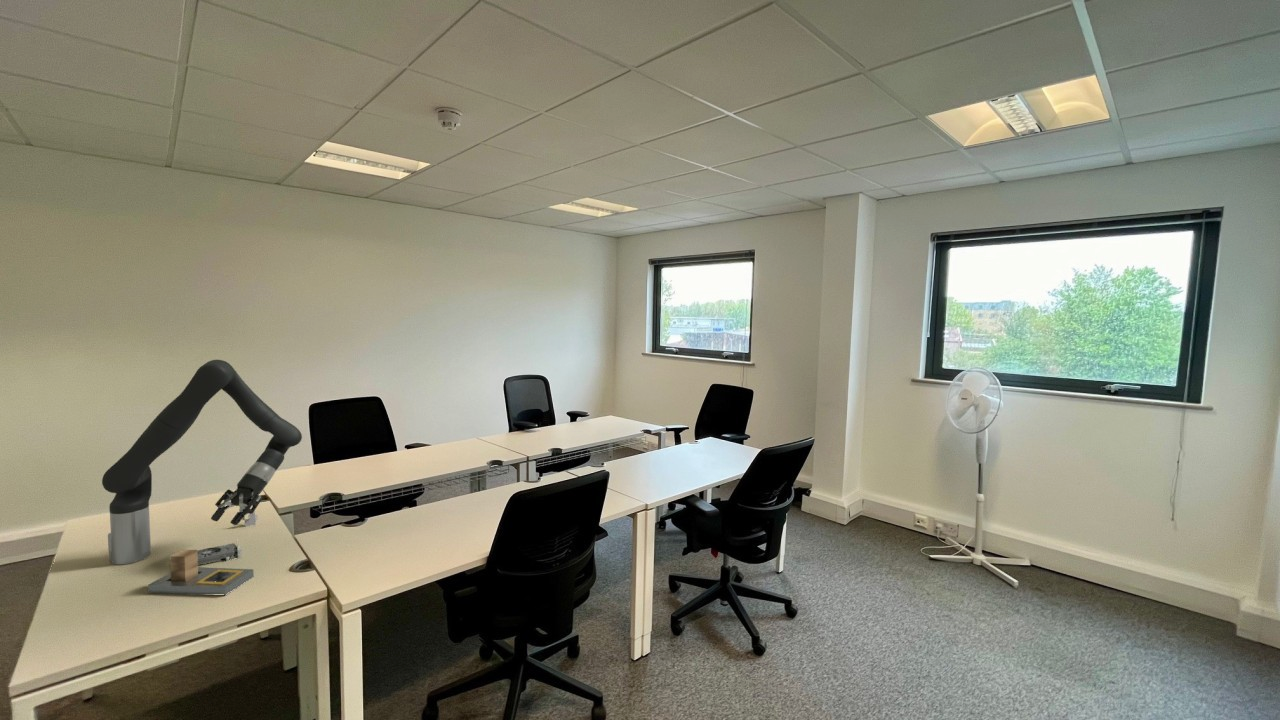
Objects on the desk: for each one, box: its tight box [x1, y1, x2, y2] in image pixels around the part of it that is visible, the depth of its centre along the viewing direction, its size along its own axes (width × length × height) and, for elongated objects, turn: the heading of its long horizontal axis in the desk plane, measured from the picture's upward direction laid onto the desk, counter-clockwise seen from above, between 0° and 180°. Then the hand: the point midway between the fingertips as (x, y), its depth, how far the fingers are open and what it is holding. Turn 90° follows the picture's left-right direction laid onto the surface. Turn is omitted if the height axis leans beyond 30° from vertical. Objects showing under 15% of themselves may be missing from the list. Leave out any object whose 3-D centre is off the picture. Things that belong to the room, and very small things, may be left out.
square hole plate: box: [147, 566, 255, 596], centre depth 155 cm, size 23×11×3 cm, turn 90°
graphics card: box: [196, 538, 243, 566], centre depth 171 cm, size 17×4×12 cm
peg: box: [169, 548, 199, 582], centre depth 155 cm, size 4×4×10 cm
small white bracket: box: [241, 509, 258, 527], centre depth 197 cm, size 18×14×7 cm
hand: (223, 522), depth 165 cm, fingers open, 8 cm apart
